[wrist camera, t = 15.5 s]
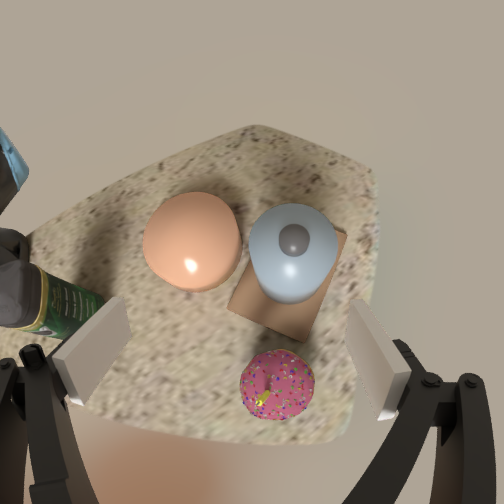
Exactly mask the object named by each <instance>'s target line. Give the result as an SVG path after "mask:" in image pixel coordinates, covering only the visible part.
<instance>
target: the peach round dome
mask: <svg viewBox="0 0 504 504" xmlns="http://www.w3.org/2000/svg"><path fill="white" fill-rule="evenodd" d="M143 252H144V256H145V259H146V261H147V263H148V265H149V266H150V268H151V269H152V270H153V271H154V272H155V273H156V274H157V275H158V276H160V277H161V278H162V279H164V280H165V281H167V282H168V283H169V284H171V285H172V286H174V287H176V288H178V289H180V290H183V291H186V292H204V291H208V290H211V289H213V288H215V287H217V286H219V285H221V284H222V283H223V282H225V281H226V280H227V279H228V278H229V277H230V276H231V275H232V273H233V272H234V271H235V269H236V267H237V265H238V263H239V261H240V257H241V253H242V240H241V235H240V232H239V229H238V226H237V223H236V220H235V217H234V214H233V212H232V211H231V209H230V208H229V206H228V205H227V204H226V203H225V202H224V201H222V200H221V199H220V198H218V197H216V196H214V195H212V194H209V193H204V192H188V193H183V194H180V195H177V196H175V197H173V198H171V199H169V200H167V201H166V202H165V203H163V204H162V205H161V206H160V207H159V208H158V209H157V210H156V211H155V212H154V213H153V215H152V216H151V218H150V219H149V221H148V223H147V225H146V228H145V231H144V235H143Z"/></svg>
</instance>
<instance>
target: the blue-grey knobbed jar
mask: <svg viewBox="0 0 504 504" xmlns="http://www.w3.org/2000/svg"><path fill="white" fill-rule="evenodd" d="M249 252H250V256H251V260H252V264H253V268H254V271H255V275H256V279H257V282H258V285H259V287H260V288H261V290H262V291H263V293H264V294H265V295H266V296H267V297H269V298H270V299H271V300H273V301H275V302H278V303H281V304H286V305H294V304H299V303H302V302H304V301H306V300H308V299H310V298H311V297H312V296H313V295H314V294H315V293H316V292H317V291H318V289H319V288H320V286H321V284H322V283H323V281H324V279H325V278H326V276H327V274H328V273H329V271H330V269H331V268H332V266H333V264H334V262H335V260H336V257H337V252H338V240H337V235H336V232H335V230H334V227H333V226H332V224H331V222H330V221H329V220H328V219H327V218H326V217H325V216H324V215H323V214H322V213H321V212H319V211H318V210H316V209H314V208H312V207H310V206H307V205H303V204H297V203H287V204H281V205H278V206H275V207H273V208H271V209H269V210H267V211H266V212H265V213H263V214H262V215H261V216H260V217H259V218H258V219H257V221H256V222H255V224H254V225H253V227H252V230H251V232H250V236H249Z"/></svg>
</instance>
